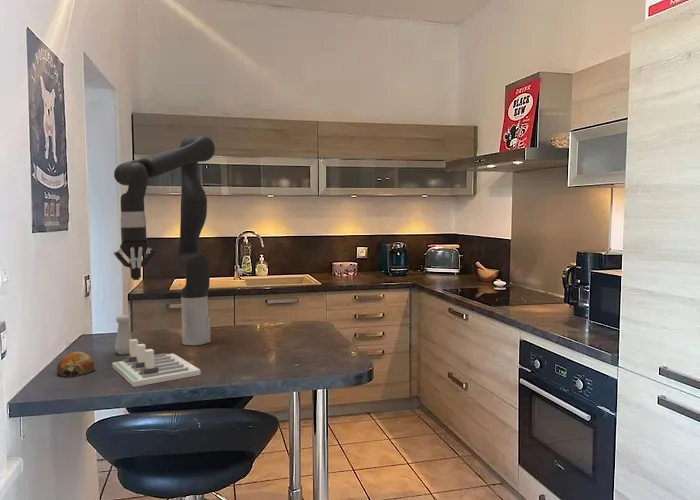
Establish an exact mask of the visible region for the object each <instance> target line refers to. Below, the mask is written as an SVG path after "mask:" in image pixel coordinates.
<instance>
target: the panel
mask: <svg viewBox="0 0 700 500" xmlns="http://www.w3.org/2000/svg"><path fill="white" fill-rule="evenodd" d="M154 365H155V366H157V367H158V372H157V373H151V374H145V375H143V376H142V375H141V368H135V369H134V368H133V362H128V363H127V362H126V359H123V360H121V361H115V362H112V369H114V370H115V371H116V372H117V373H118V374H119V375H120V376H121V377H123V379H125V380H126V381H127V383H129V384H130V385H131V386H132V387H134V388H135V387H141V386H147V385H151V384H152V385H153V384H158V383H162V382H170V381H174V380H179V379H185V378H190V377H191V378H192V377H195V376H196V377H197V376H201V375H202V374H201V373H202V372H201V369H200V368H198V367H197V366H195V365H193V364H191V363H190V362H188V361H186V359H184V358H181V356H178V355H177V354H175V353H159V354H158V353H157V354H154Z"/></svg>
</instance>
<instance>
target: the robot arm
mask: <svg viewBox="0 0 700 500" xmlns="http://www.w3.org/2000/svg"><path fill="white" fill-rule="evenodd" d="M215 151H216V146H215V143H214V142H213V140H212V139H211V138H210V137H208V136H206V135H192V136H185V137H184V138H183V139H182V140H181V142H180V146H179V147H178V148H173V149H167V150H162V151H158V152H155V153H153V154H150V155H147V156H145V157H143V158H139V159H134V160H133V159H132V160H129V161H125V162H122V163H121V164H119V165H117V166H116V167H115V169H114V172H113V175H114V176H113V177H114V179H115V181H116V182H117V183H118V184H120V185H122V186H128V187H127V191H126V192H125V193H122V194H121V196H120V235H121V243H120V246H119V249H117V250H116V251H114V252H113V255H114V257H116V259H117V260H118V261H119V262H120V263H121V264H122V265H123V266H124V267H125V268H129V269H130V270H129V271H130V278H131V279H132V281H133V280H134V281H139V280H140V279H141V277H142V270H141V269H142V267H144V266H145V267H146V266H147V265H148V263H149V262H150V260H151V259H152V257H153V256H154V255H155V253H156V250H155V249H152V248H150V247H149V243H148V241H147V222H146V221H147V220H146V214H145V195H146V191H147V187H148V182H149V179H150V178H155V177H158V176H161V175H163V174H166V173H168V172H170V171H173V170H176V169H178V168H180V171H181V172H180V173H181V174H180V175H181V177H180V178H181V188H180V189H181V191H180V192H181V194H180V226H179V228H180V229H179V243H178V244H179V245H178V252H177V259H176V267H177V268H176V269H177V271H178V272H179V274H180V275H181V276H184V277H185V286H184V287H183V288H182V289H181V290H180V294H181V295H180V299H181V303H180V305H181V339H182V341H181V342H182V345H185V346H200V345H201V346H202V345H206V344H208V343H211V317H210V316H209V309H208V308H209V305H208V292H209V289H210V284H211V283H210V281H211V280H210V278H211V277H210V275H211V274H210V273H211V268H210V261H209V258H208V257H207V255H205V254H204V253H201V252H199V241H200V236H201V232H202V231H203V228H204V225H205V223H206V219H207V214H208V198H207V195H206V192H205V190H204V188H203V186H202V183H201V181H200V178H199V174H198V173H199V172H198V171H199V170H198V169H199V168H198V166H199V163H200V162H203V163H204V162H207V161H209V160H210V159H212V158H213V157H214V155H215ZM124 255H125V256H126V257H127V260H126V258H124ZM144 255H145V256H144ZM143 256H144V257H143Z"/></svg>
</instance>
